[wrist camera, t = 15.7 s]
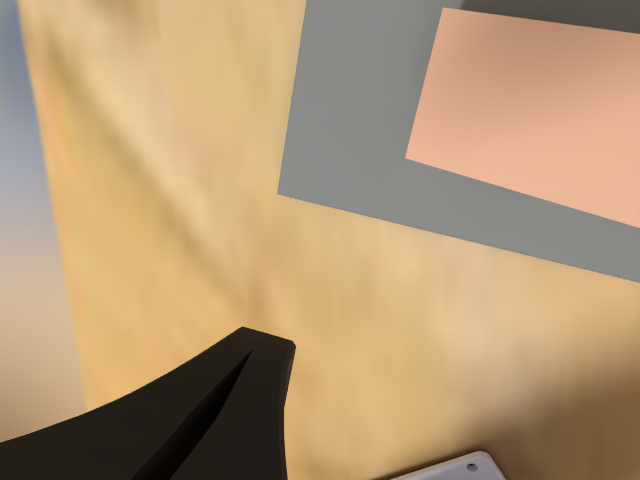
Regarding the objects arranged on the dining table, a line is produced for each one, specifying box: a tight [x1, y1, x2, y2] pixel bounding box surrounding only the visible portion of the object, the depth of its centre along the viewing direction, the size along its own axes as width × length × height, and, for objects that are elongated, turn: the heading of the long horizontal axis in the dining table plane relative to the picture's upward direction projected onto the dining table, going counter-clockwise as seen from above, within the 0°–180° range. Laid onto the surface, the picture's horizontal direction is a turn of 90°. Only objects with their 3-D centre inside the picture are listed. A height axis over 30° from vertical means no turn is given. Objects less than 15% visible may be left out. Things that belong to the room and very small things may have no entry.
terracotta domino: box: [405, 8, 640, 228], centre depth 15 cm, size 2×5×9 cm
